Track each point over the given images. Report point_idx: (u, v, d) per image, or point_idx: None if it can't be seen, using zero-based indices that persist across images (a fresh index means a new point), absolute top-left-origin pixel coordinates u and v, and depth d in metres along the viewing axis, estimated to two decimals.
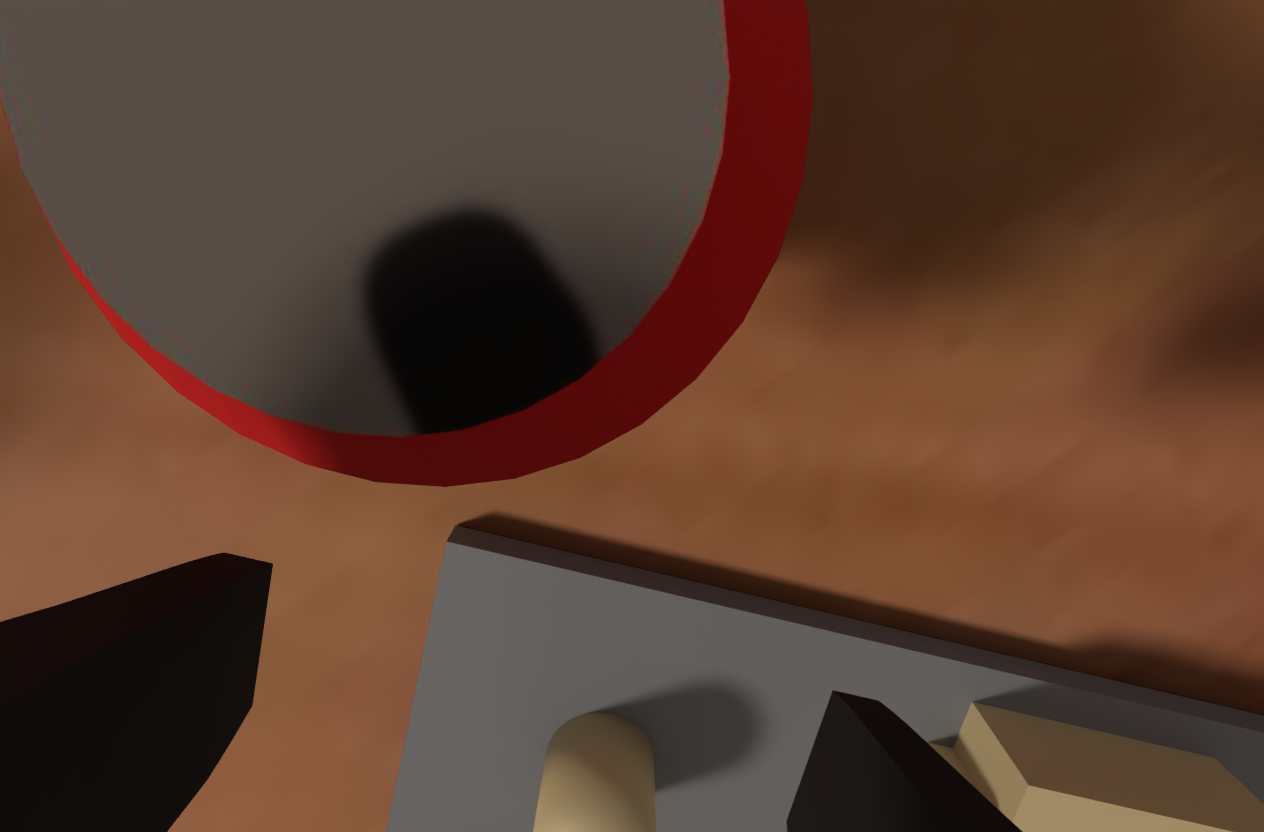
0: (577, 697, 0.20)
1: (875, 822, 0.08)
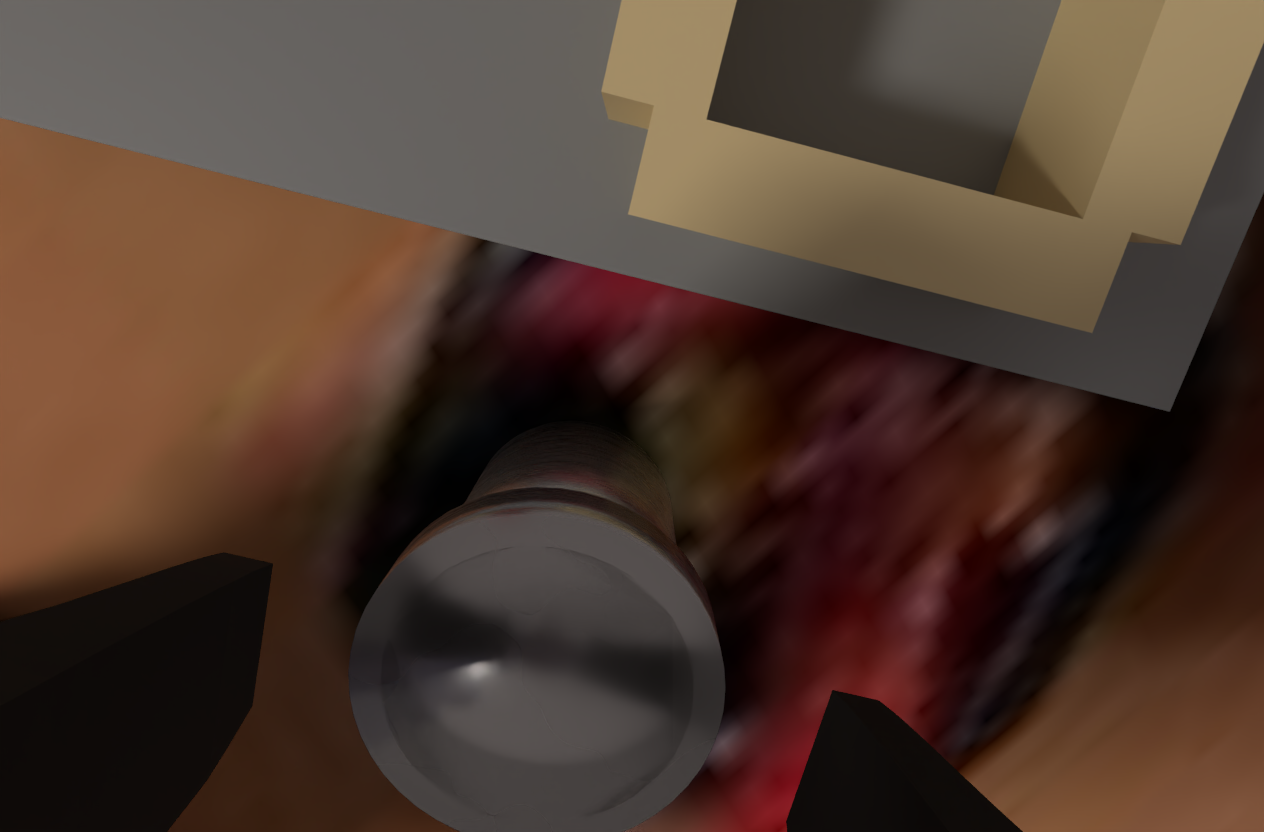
0: None
1: (875, 823, 0.08)
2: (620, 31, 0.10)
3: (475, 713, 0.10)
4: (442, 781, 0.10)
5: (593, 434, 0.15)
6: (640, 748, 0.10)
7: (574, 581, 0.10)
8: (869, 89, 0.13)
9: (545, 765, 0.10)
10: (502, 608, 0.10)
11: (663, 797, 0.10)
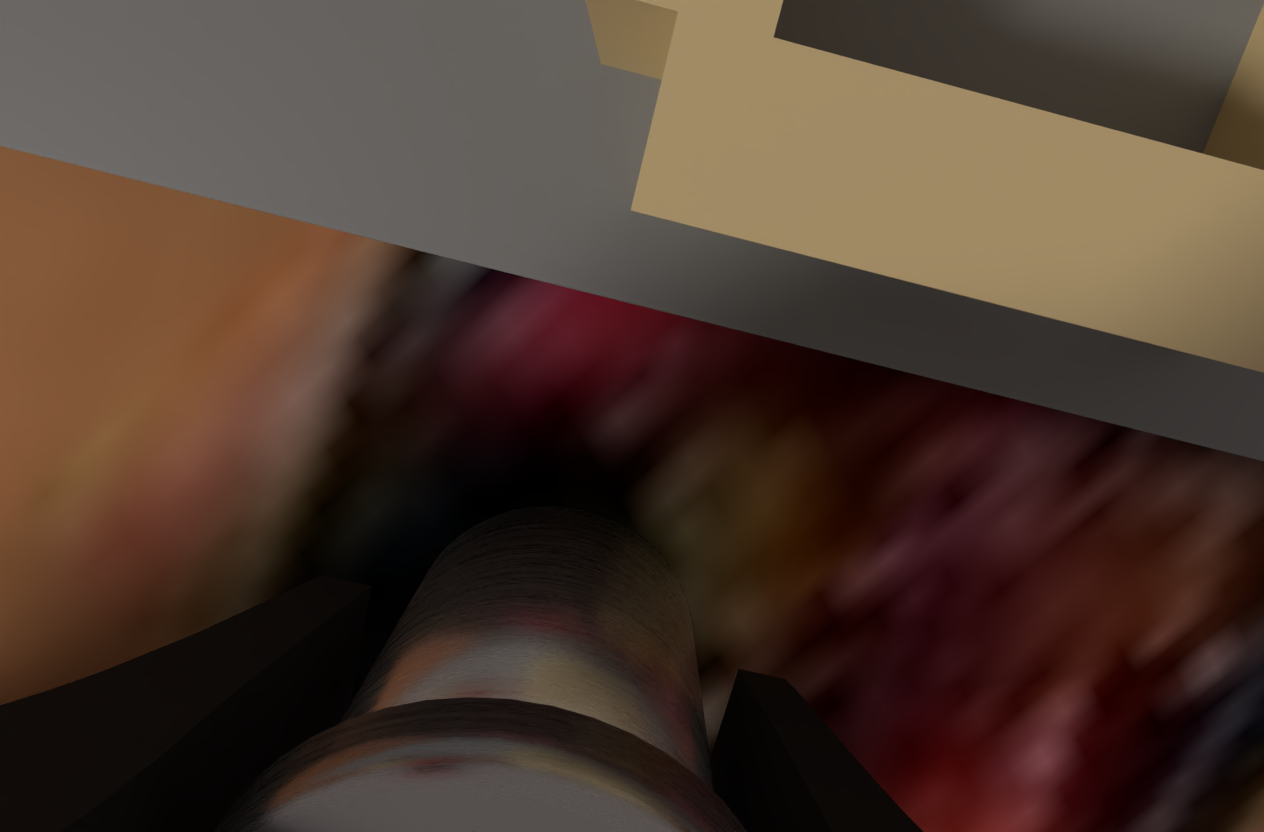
0: None
1: (762, 798, 0.08)
2: None
3: None
4: None
5: (580, 533, 0.10)
6: None
7: None
8: (1007, 16, 0.08)
9: None
10: None
11: None
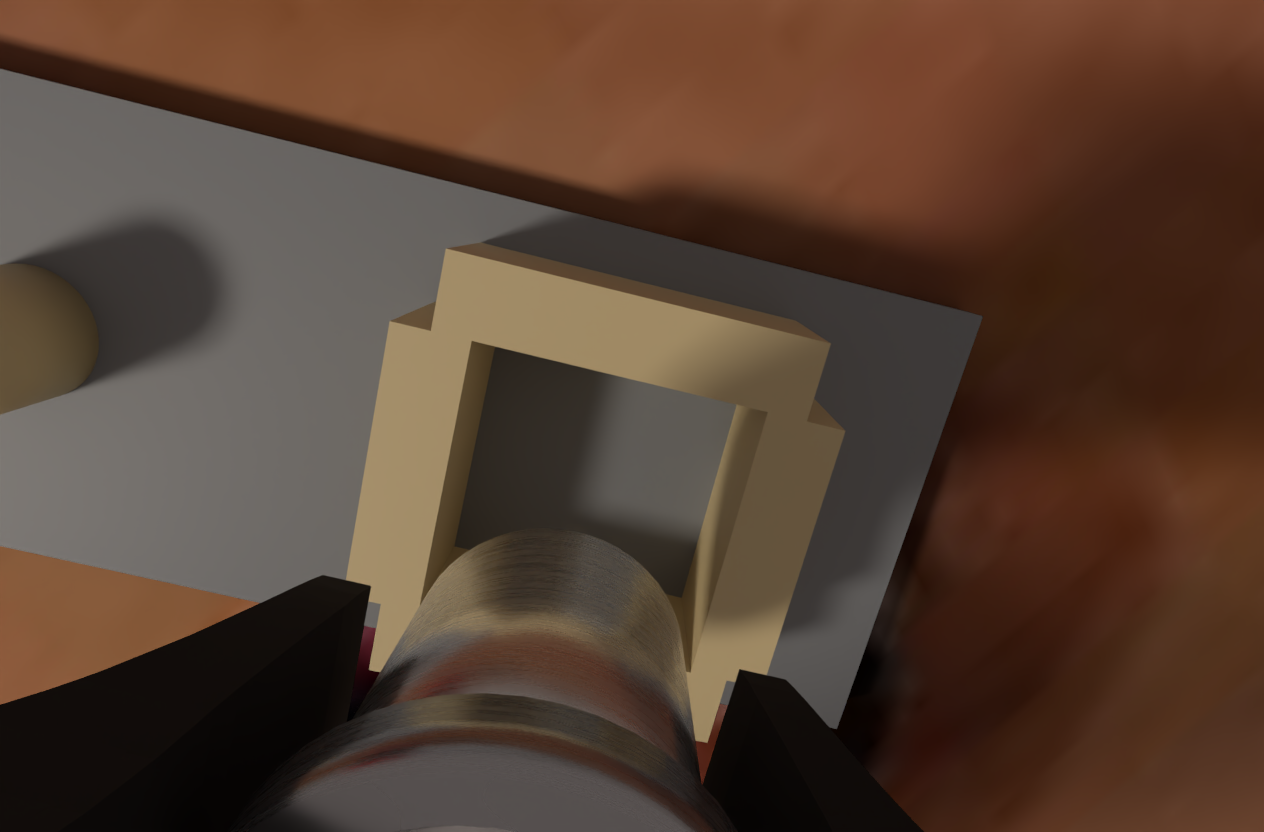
0: None
1: (763, 797, 0.08)
2: (353, 559, 0.14)
3: None
4: None
5: (581, 554, 0.11)
6: None
7: None
8: (585, 512, 0.17)
9: None
10: None
11: None
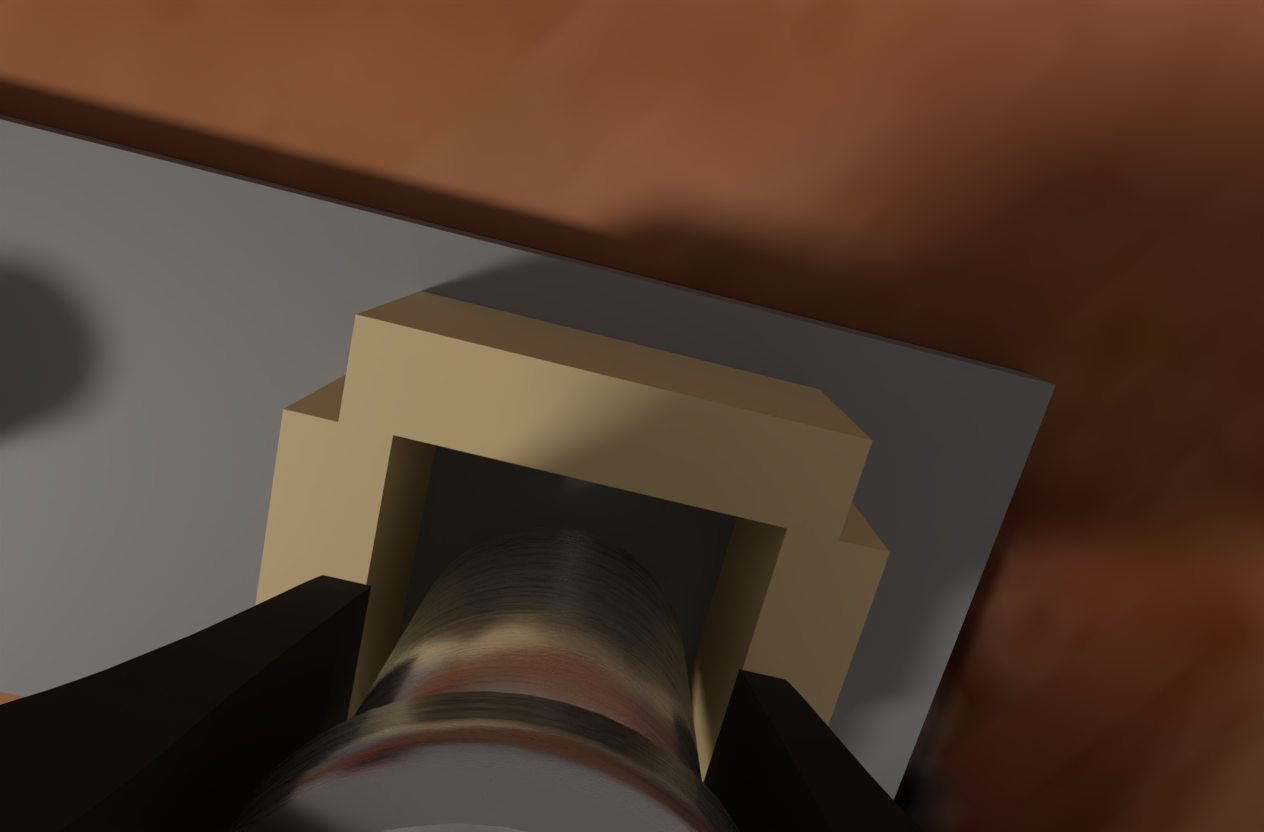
0: None
1: (762, 798, 0.08)
2: None
3: None
4: None
5: (582, 553, 0.11)
6: None
7: None
8: None
9: None
10: None
11: None
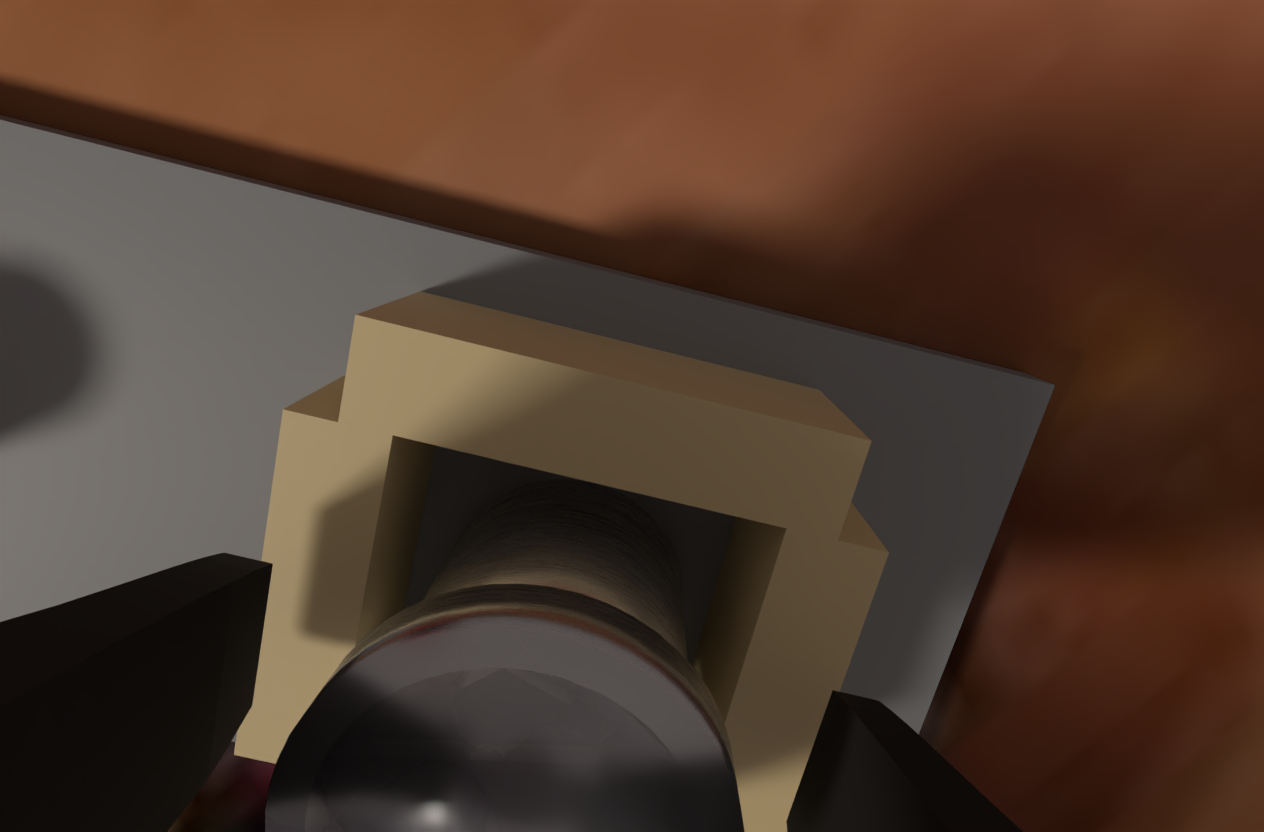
0: None
1: (875, 821, 0.08)
2: None
3: None
4: None
5: (595, 499, 0.13)
6: None
7: (558, 715, 0.08)
8: None
9: None
10: (464, 744, 0.08)
11: None
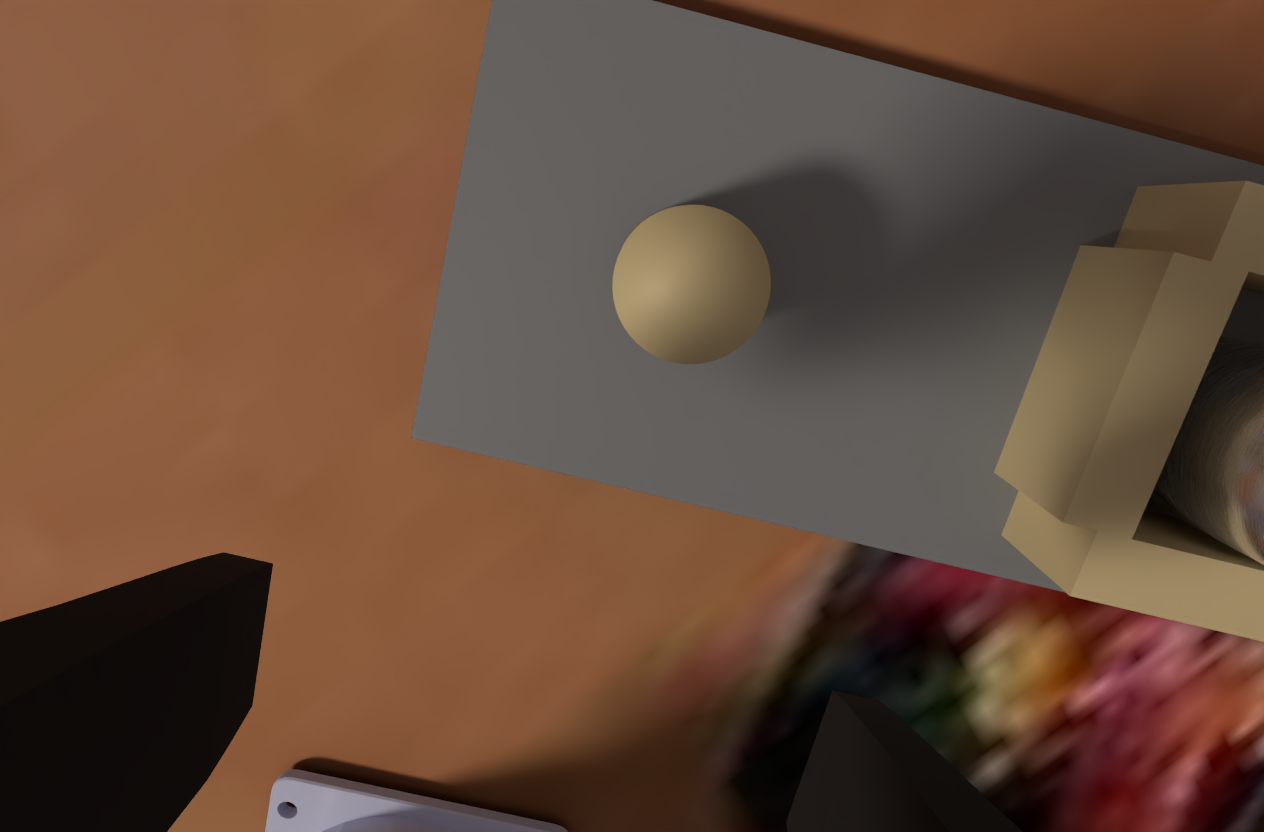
0: (656, 185, 0.16)
1: (875, 822, 0.08)
2: (1080, 486, 0.15)
3: None
4: None
5: None
6: None
7: None
8: None
9: None
10: None
11: None
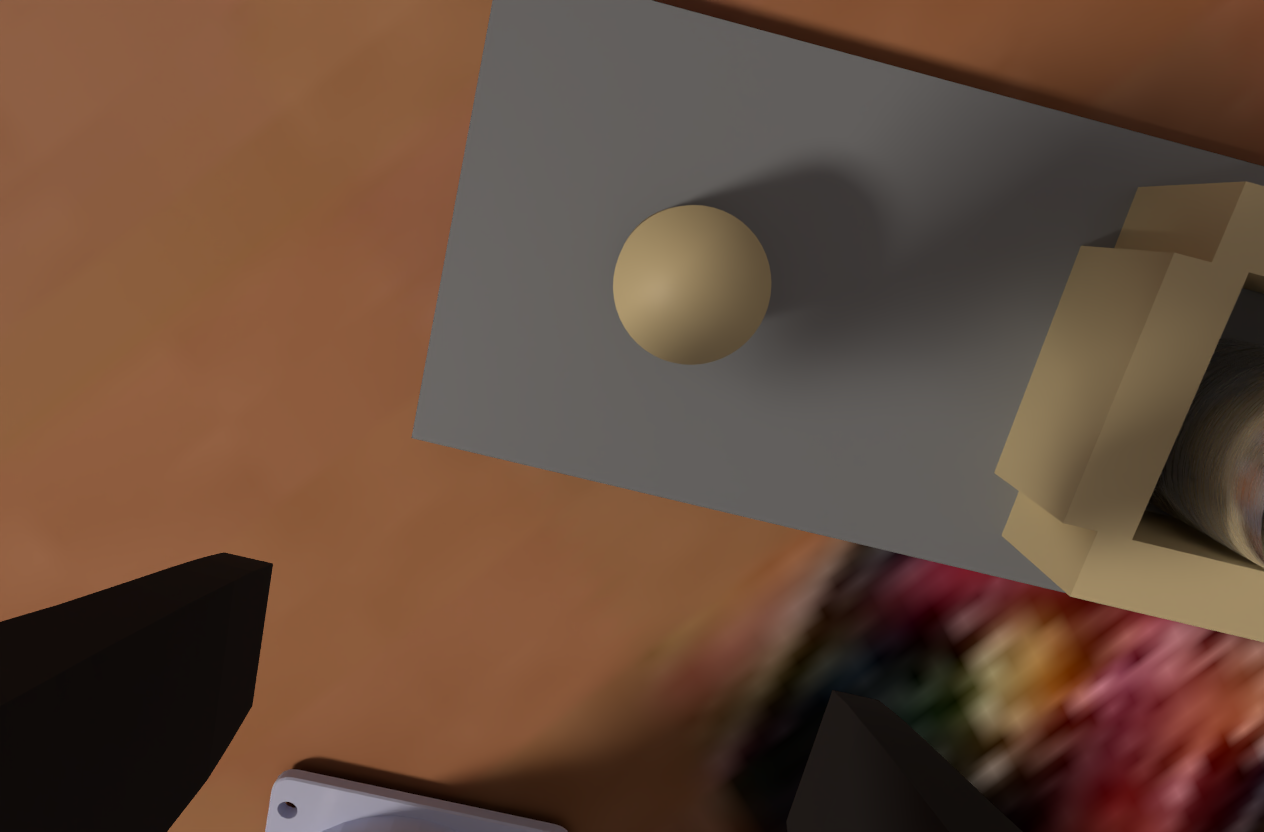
0: (657, 185, 0.16)
1: (875, 823, 0.08)
2: (1080, 487, 0.15)
3: None
4: None
5: None
6: None
7: None
8: None
9: None
10: None
11: None
